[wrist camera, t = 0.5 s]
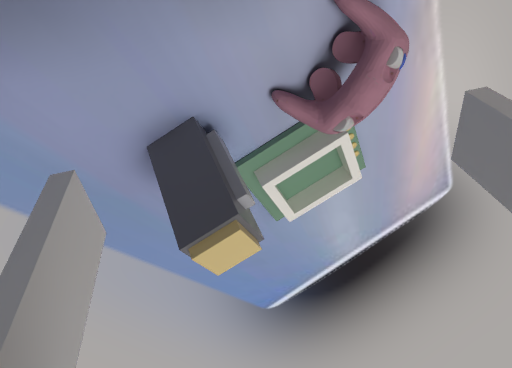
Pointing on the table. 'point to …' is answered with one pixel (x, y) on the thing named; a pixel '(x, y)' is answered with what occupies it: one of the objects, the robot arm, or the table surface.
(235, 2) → the table surface
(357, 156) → the green square tray
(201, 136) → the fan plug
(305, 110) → the video game controller
